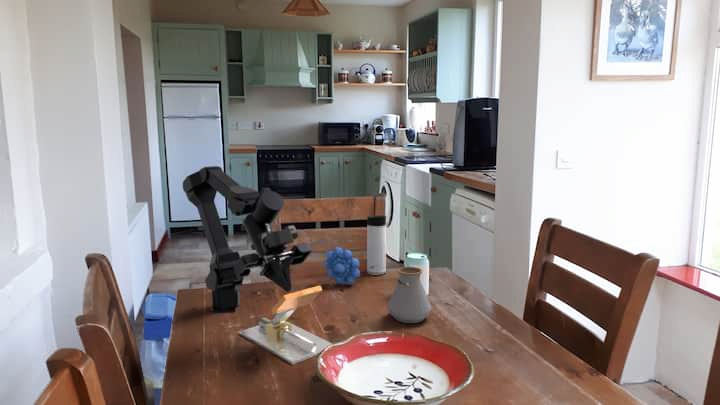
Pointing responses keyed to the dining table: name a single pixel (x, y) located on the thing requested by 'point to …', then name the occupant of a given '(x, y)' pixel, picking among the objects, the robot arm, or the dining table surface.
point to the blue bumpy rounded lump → (342, 266)
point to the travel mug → (376, 244)
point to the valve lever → (293, 303)
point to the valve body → (286, 340)
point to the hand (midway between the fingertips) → (289, 290)
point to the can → (422, 263)
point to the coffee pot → (409, 297)
